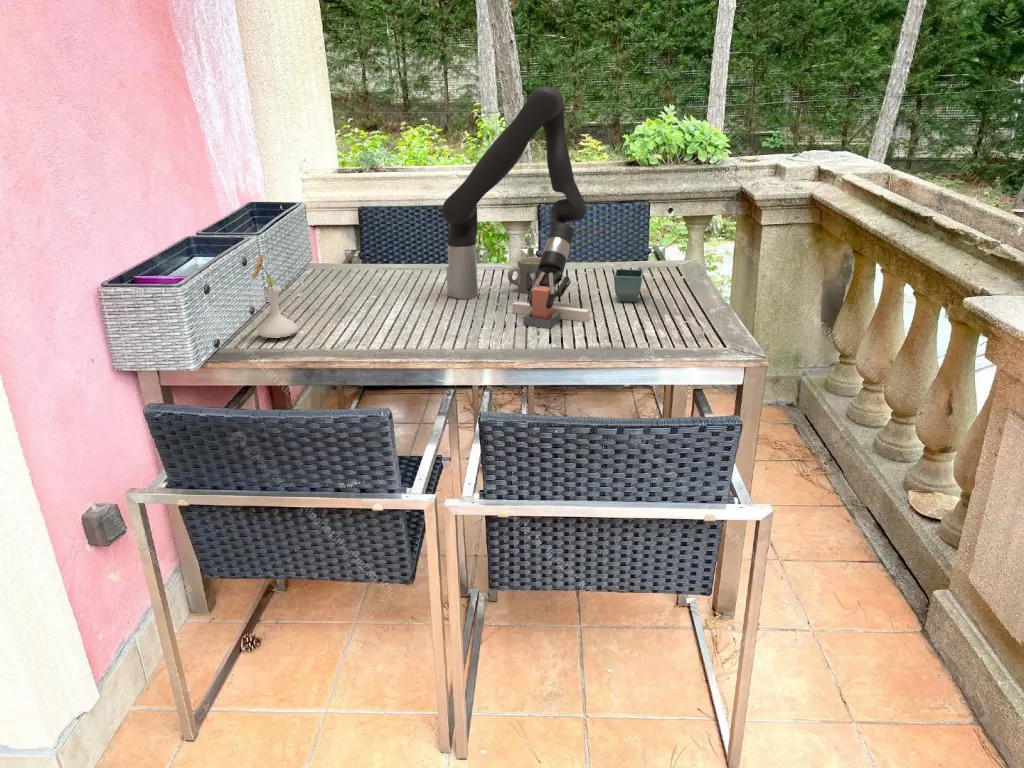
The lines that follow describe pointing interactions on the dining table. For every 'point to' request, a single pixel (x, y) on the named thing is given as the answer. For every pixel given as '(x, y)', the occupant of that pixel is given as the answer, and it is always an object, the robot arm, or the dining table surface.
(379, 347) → the dining table surface
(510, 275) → the coffee mug
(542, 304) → the block
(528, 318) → the keeper bracket
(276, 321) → the flower in vase
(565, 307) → the strip
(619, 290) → the flower pot
